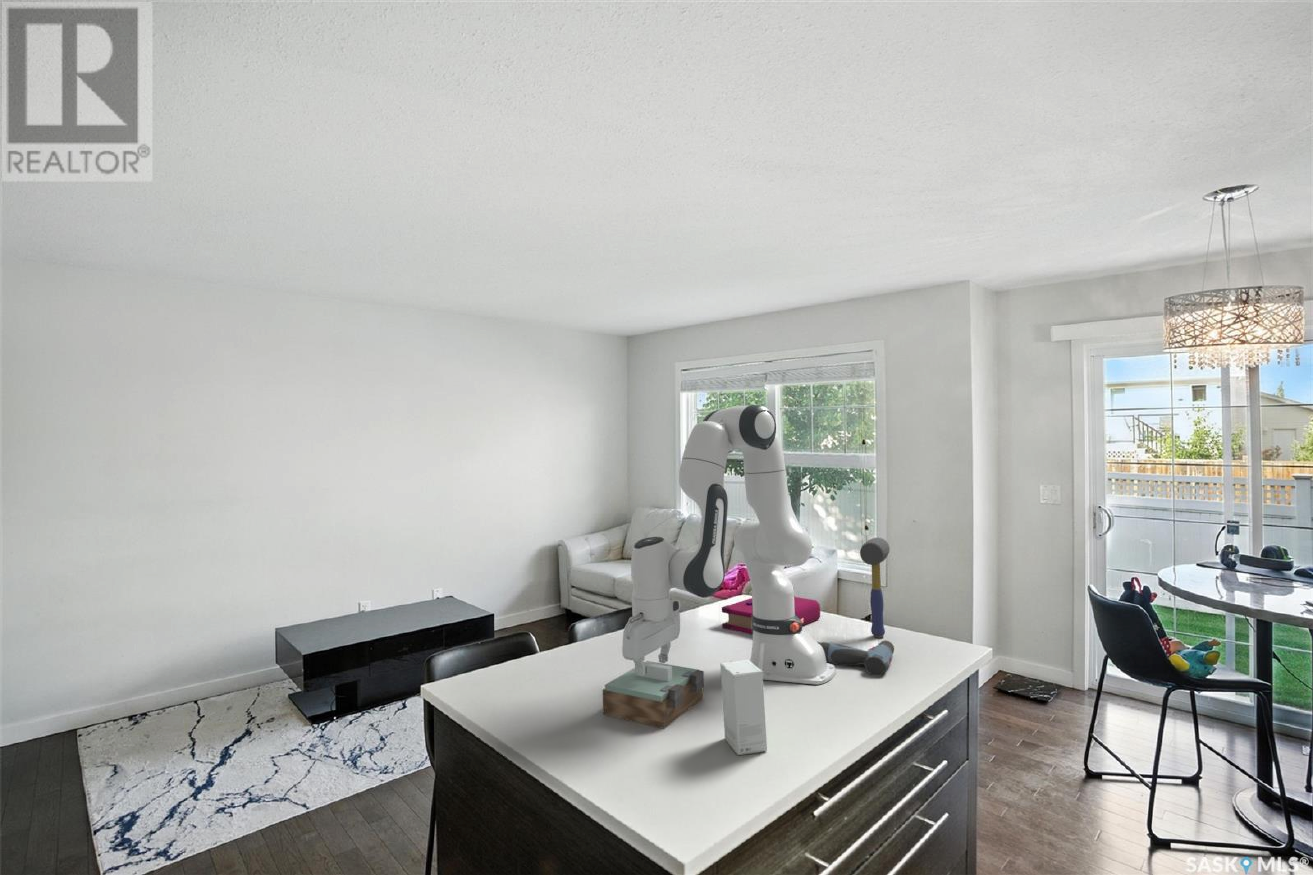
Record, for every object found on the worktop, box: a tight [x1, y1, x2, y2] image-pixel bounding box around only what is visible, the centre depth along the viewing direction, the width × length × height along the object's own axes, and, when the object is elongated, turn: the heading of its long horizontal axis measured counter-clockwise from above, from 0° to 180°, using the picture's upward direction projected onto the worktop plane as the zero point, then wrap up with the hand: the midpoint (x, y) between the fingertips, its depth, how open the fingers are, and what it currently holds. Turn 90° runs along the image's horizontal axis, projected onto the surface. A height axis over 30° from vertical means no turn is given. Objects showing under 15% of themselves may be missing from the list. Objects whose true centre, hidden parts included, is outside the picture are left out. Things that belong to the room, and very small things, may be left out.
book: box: [721, 596, 821, 635], centre depth 213 cm, size 21×28×8 cm
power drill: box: [816, 639, 895, 677], centre depth 174 cm, size 5×19×20 cm
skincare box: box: [720, 659, 768, 756], centre depth 127 cm, size 8×7×16 cm
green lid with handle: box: [604, 660, 699, 702], centre depth 148 cm, size 15×18×4 cm
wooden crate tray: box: [602, 669, 705, 729], centre depth 147 cm, size 18×18×8 cm
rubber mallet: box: [859, 537, 890, 639], centre depth 195 cm, size 12×8×30 cm, turn 151°
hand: (653, 668), depth 148 cm, fingers open, 8 cm apart
